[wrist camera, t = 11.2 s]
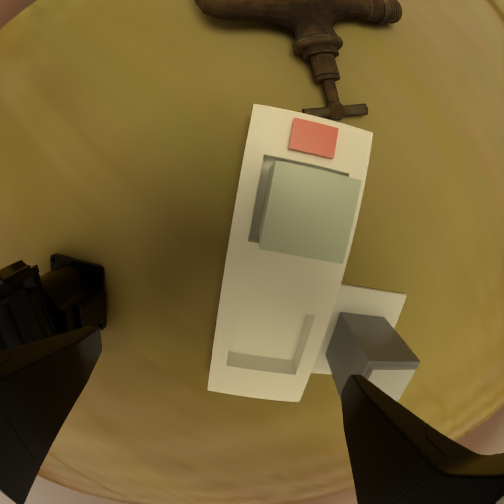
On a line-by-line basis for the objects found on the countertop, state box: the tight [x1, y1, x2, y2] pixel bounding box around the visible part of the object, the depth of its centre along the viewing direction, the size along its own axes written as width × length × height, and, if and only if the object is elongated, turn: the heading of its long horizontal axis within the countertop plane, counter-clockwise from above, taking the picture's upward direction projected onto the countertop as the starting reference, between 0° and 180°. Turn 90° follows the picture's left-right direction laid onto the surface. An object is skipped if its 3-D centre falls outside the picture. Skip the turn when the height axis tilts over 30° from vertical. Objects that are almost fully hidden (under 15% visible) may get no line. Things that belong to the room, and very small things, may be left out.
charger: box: [325, 312, 420, 401], centre depth 19 cm, size 4×4×7 cm
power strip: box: [207, 104, 373, 402], centre depth 19 cm, size 22×8×4 cm, turn 170°
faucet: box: [195, 0, 402, 120], centre depth 15 cm, size 5×17×15 cm
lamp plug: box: [259, 160, 362, 264], centre depth 16 cm, size 4×4×6 cm
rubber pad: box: [311, 284, 407, 374], centre depth 22 cm, size 8×9×1 cm
